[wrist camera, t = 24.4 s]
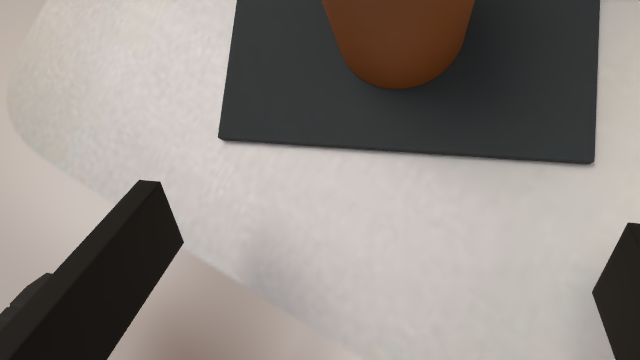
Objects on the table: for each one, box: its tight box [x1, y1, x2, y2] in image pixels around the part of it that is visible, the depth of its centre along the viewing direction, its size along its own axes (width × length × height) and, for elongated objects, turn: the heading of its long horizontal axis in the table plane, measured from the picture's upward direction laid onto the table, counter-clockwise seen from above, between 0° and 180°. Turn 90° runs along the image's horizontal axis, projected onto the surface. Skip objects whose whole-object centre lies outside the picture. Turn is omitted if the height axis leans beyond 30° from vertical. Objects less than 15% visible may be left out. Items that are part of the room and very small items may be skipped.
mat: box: [218, 0, 600, 164], centre depth 19 cm, size 16×11×1 cm
